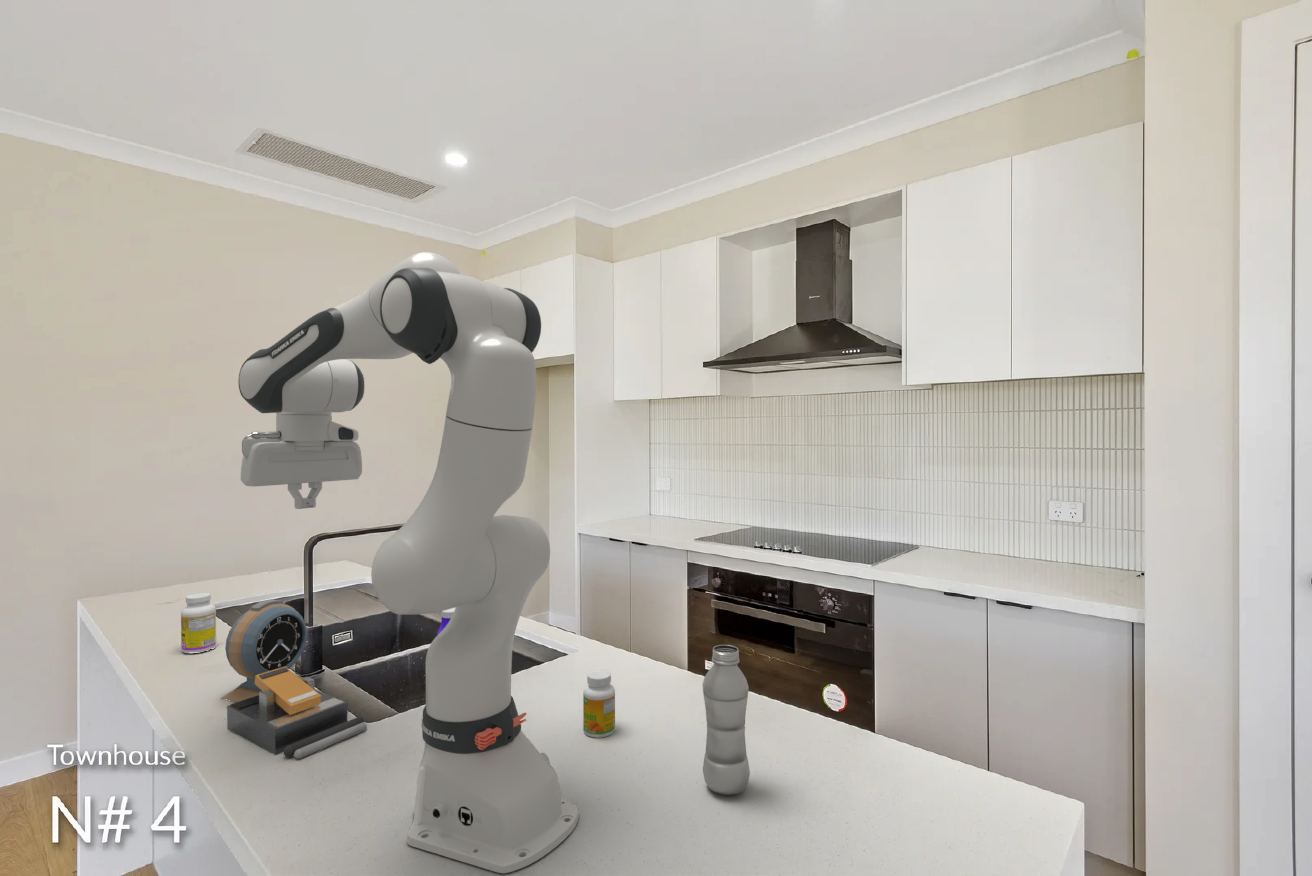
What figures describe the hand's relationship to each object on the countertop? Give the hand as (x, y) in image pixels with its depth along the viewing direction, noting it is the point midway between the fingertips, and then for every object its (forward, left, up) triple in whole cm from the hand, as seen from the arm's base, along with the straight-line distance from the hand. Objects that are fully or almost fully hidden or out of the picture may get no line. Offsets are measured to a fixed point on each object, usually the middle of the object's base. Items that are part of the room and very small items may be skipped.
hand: (305, 508), depth 115 cm
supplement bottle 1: (+54, -4, -37) cm, 66 cm away
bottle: (-18, -18, -37) cm, 45 cm away
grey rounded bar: (-14, +4, -37) cm, 40 cm away
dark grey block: (-3, +5, -37) cm, 38 cm away
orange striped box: (-3, +5, -31) cm, 31 cm away
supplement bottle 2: (-49, -23, -37) cm, 66 cm away
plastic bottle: (-75, -19, -37) cm, 86 cm away
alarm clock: (+16, -1, -37) cm, 41 cm away
